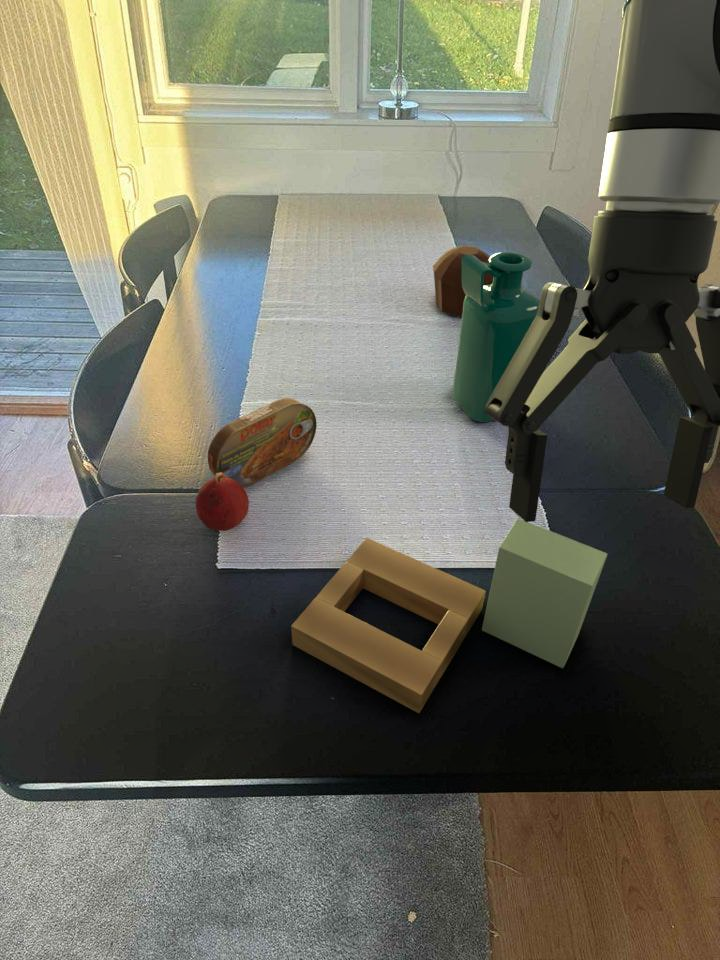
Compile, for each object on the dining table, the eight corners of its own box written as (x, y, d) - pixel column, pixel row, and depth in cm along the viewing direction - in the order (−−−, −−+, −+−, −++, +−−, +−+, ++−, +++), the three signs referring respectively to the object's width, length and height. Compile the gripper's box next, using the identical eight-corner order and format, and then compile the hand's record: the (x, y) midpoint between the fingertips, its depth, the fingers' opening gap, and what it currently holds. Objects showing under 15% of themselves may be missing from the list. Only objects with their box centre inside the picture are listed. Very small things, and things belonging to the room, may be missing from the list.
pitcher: (497, 383, 105) (521, 239, 90) (528, 414, 99) (560, 265, 85) (439, 396, 102) (455, 249, 87) (467, 428, 96) (489, 277, 82)
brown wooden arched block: (496, 322, 119) (505, 266, 113) (431, 320, 119) (437, 264, 113) (488, 291, 128) (496, 237, 122) (428, 289, 128) (433, 235, 122)
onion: (233, 552, 78) (225, 499, 72) (190, 536, 79) (179, 483, 74) (260, 519, 82) (255, 466, 76) (218, 504, 83) (210, 452, 78)
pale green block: (498, 600, 73) (517, 517, 65) (577, 636, 70) (607, 553, 62) (481, 630, 70) (499, 547, 62) (562, 668, 67) (592, 586, 59)
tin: (222, 500, 84) (214, 445, 78) (208, 487, 86) (199, 432, 80) (319, 449, 92) (317, 396, 86) (303, 438, 94) (301, 385, 88)
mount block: (365, 556, 78) (366, 537, 76) (482, 609, 72) (486, 590, 70) (292, 645, 68) (290, 625, 66) (419, 713, 63) (421, 695, 61)
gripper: (767, 214, 52) (705, 479, 60) (455, 200, 46) (431, 499, 53) (857, 216, 45) (775, 515, 53) (507, 201, 39) (471, 543, 47)
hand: (602, 508), depth 53 cm, fingers open, 13 cm apart
